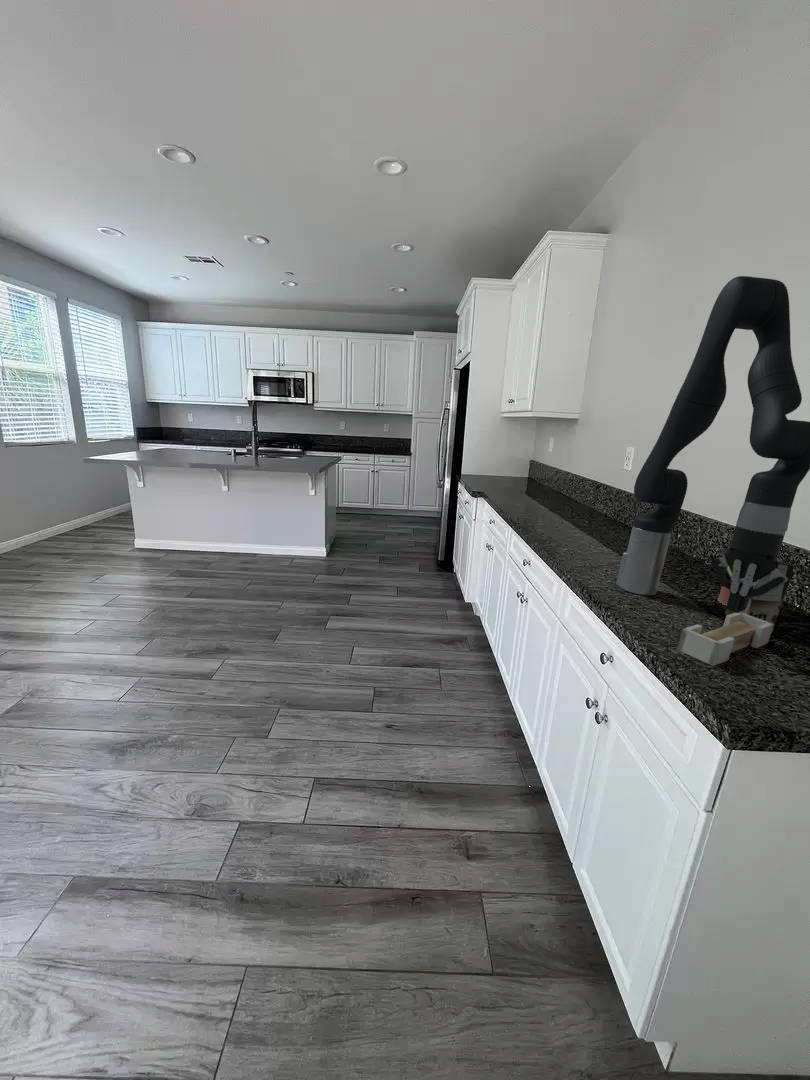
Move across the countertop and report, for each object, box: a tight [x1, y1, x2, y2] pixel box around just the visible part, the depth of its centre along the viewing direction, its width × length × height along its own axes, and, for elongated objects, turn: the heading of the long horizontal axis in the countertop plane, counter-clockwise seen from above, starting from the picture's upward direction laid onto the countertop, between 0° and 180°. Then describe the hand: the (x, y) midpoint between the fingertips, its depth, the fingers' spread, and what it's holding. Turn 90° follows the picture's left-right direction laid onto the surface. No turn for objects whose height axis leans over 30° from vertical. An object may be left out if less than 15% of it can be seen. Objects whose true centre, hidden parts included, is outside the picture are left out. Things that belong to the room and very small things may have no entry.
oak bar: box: [700, 621, 757, 654], centre depth 88 cm, size 3×18×4 cm, turn 121°
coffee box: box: [724, 558, 795, 634], centre depth 102 cm, size 9×6×16 cm
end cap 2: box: [722, 612, 775, 649], centre depth 94 cm, size 7×6×4 cm
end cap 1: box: [676, 623, 735, 667], centre depth 84 cm, size 7×6×4 cm
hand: (735, 611), depth 88 cm, fingers closed
